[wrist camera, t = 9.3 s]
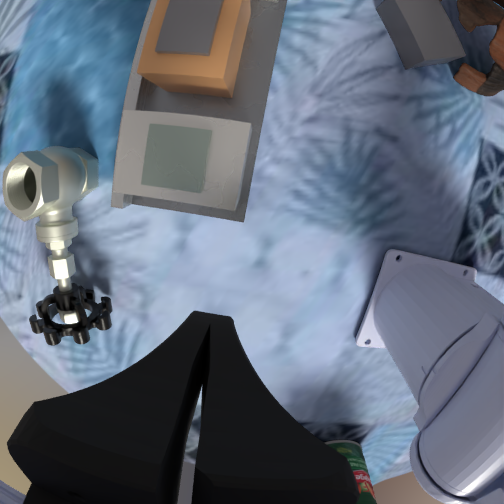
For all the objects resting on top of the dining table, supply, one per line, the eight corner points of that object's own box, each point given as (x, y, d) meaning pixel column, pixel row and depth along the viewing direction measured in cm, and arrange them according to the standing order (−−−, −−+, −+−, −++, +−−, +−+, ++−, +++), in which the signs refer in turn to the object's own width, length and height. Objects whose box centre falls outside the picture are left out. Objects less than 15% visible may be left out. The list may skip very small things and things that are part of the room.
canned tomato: (372, 437, 27) (397, 516, 16) (346, 471, 29) (361, 540, 19) (306, 439, 26) (318, 529, 16) (286, 473, 29) (292, 548, 19)
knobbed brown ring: (418, 73, 16) (452, -12, 8) (416, 16, 18) (435, -50, 10) (538, 140, 14) (591, 89, 6) (520, 70, 16) (553, 20, 7)
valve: (46, 148, 18) (60, 295, 22) (-14, 155, 11) (16, 336, 15) (119, 141, 18) (128, 304, 22) (64, 141, 12) (91, 355, 15)
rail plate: (296, -43, 13) (307, -90, 7) (244, 218, 19) (239, 247, 14) (186, -52, 13) (169, -96, 7) (126, 199, 19) (82, 219, 13)
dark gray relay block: (416, 7, 14) (435, -7, 11) (443, 63, 15) (466, 55, 13) (374, 10, 14) (390, -7, 12) (404, 69, 16) (425, 60, 13)
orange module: (250, 13, 14) (249, -31, 9) (231, 98, 16) (222, 76, 11) (187, 8, 14) (166, -33, 9) (166, 91, 16) (133, 71, 11)
